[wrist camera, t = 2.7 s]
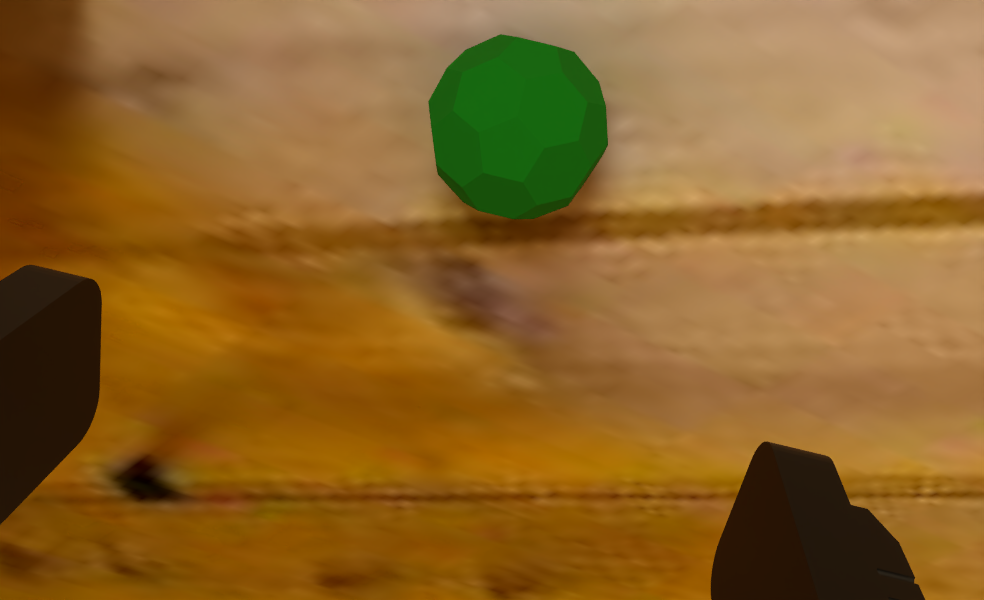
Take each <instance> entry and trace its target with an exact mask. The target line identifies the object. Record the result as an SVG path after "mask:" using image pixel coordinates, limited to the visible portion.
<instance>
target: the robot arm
mask: <svg viewBox="0 0 984 600" xmlns="http://www.w3.org/2000/svg"><path fill="white" fill-rule="evenodd" d="M101 308H102V299H101V291H100V288H99V286H98V284H97V283H96V282H95V281H94V280H92V279H89V278H85V277H81V276H77V275H73V274H68V273H64V272H60V271H56V270H52V269H47V268H43V267H39V266H35V265H27V266H24V267H22V268H20V269H19V270H17V271H15V272H14V273H12V274H11V275H9V276H7V277H6V278H4V279H3V280H1V281H0V524H1V523H2V522H3V521H4V520H5V519H6V518H7V517H8V516H9V515H10V514H11V513H12V512H13V511H14V510H15V509H16V508H17V507H18V506H19V505H20V504H21V503H22V502H23V501H24V500H25V499H26V498H27V496H28V495H29V494H30V493H31V492H32V491H33V490H34V489H35V488H36V487H37V486H38V485H39V484H40V483H41V482H42V481H43V480H44V479H45V478H46V477H47V476H48V475H49V474H50V473H51V472H52V471H53V470H54V469H55V468H56V467H57V465H58V464H59V463H60V462H61V461H62V460H63V459H64V458H65V457H66V456H67V455H68V454H69V453H70V452H71V451H72V450H73V449H74V448H75V447H76V446H77V445H78V444H79V443H80V441H81V440H82V439H83V437H84V436H85V434H86V433H87V431H88V429H89V427H90V425H91V423H92V420H93V418H94V415H95V412H96V409H97V404H98V399H99V390H100V349H101ZM914 579H915V577H914V574H913V572H912V570H911V568H910V566H909V563H908V561H907V559H906V557H905V555H904V553H903V550H902V548H901V546H900V544H899V542H898V541H897V540H896V539H895V538H894V537H893V536H892V535H891V534H890V533H889V532H888V530H887V529H886V528H885V527H884V526H883V525H882V524H881V523H880V522H879V521H878V520H877V519H876V518H875V516H874V515H873V514H872V513H871V512H870V511H869V510H868V509H865V508H861V507H857V506H853V505H851V504H850V502H849V500H848V497H847V495H846V492H845V490H844V487H843V485H842V482H841V480H840V477H839V475H838V473H837V470H836V468H835V465H834V463H833V461H832V459H831V458H830V457H828V456H825V455H821V454H817V453H813V452H808V451H804V450H800V449H796V448H792V447H787V446H783V445H779V444H775V443H771V442H763V443H762V444H761V445H760V446H759V447H758V448H757V450H756V451H755V453H754V455H753V458H752V460H751V462H750V465H749V467H748V470H747V472H746V475H745V477H744V480H743V483H742V485H741V488H740V490H739V493H738V495H737V498H736V500H735V503H734V505H733V508H732V510H731V513H730V515H729V518H728V521H727V523H726V526H725V528H724V531H723V533H722V536H721V538H720V541H719V544H718V546H717V550H716V553H715V558H714V562H713V568H712V576H711V599H712V600H925V598H924V596H923V594H922V592H921V590H920V587H919V585H918V584H914Z"/></svg>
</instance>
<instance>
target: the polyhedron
mask: <svg viewBox="0 0 984 600" xmlns="http://www.w3.org/2000/svg"><path fill="white" fill-rule="evenodd" d="M429 111H430V119H431V128H432V136H433V144H434V151H435V159H436V166H437V172H438V175H439V176H440V177H441V178H442V179H443V180H444V182H445V183H446V184H447V185H448V186H449V187H450V188H451V189H452V190H453V191H454V193H455V194H456V195H457V196H458V197H459V198H460V199H461V200H462V201H463V202H464V203H466V204H468V205H469V206H471V207H473V208H475V209H476V210H478V211H482V212H486V213H490V214H494V215H498V216H502V217H507V218H511V219H534V218H537V217H539V216H542V215H545V214H547V213H550V212H553V211H555V210H558V209H561V208H563V207H566V206H568V205H569V203H570V202H571V201H572V199H573V198H574V197H575V195H576V194H577V193H578V191H579V190H580V189H581V187H582V186H583V184H584V183H585V181H586V180H587V178H588V177H589V175H590V174H591V172H592V171H593V169H594V168H595V166H596V165H597V163H598V162H599V160H600V158H601V157H602V155H603V154H604V152H605V149H606V147H607V145H608V138H607V119H606V105H605V101H604V98H603V94H602V91H601V88H600V84H599V81H598V80H597V79H596V78H595V77H594V75H593V74H592V73H591V72H590V71H589V69H588V68H587V67H586V66H585V64H584V63H583V62H582V61H581V60H580V58H579V57H578V56H577V55H576V54H575V52H573V51H569V50H566V49H563V48H560V47H556V46H552V45H548V44H544V43H540V42H535V41H531V40H527V39H523V38H519V37H513V36H507V35H501V34H500V35H498V36H496V37H494V38H491V39H489V40H487V41H485V42H482V43H480V44H478V45H476V46H473V47H471V48H469V49H467V50H465V51H464V52H463V53H462V54H461V55H460V56H459V57H458V58H457V59H456V60H455V61H454V62H453V63H452V64H451V65H450V66H449V67H447V69H446V71H445V72H444V74H443V76H442V78H441V80H440V82H439V83H438V85H437V87H436V89H435V91H434V93H433V94H432V96H431V98H430V100H429Z"/></svg>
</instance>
